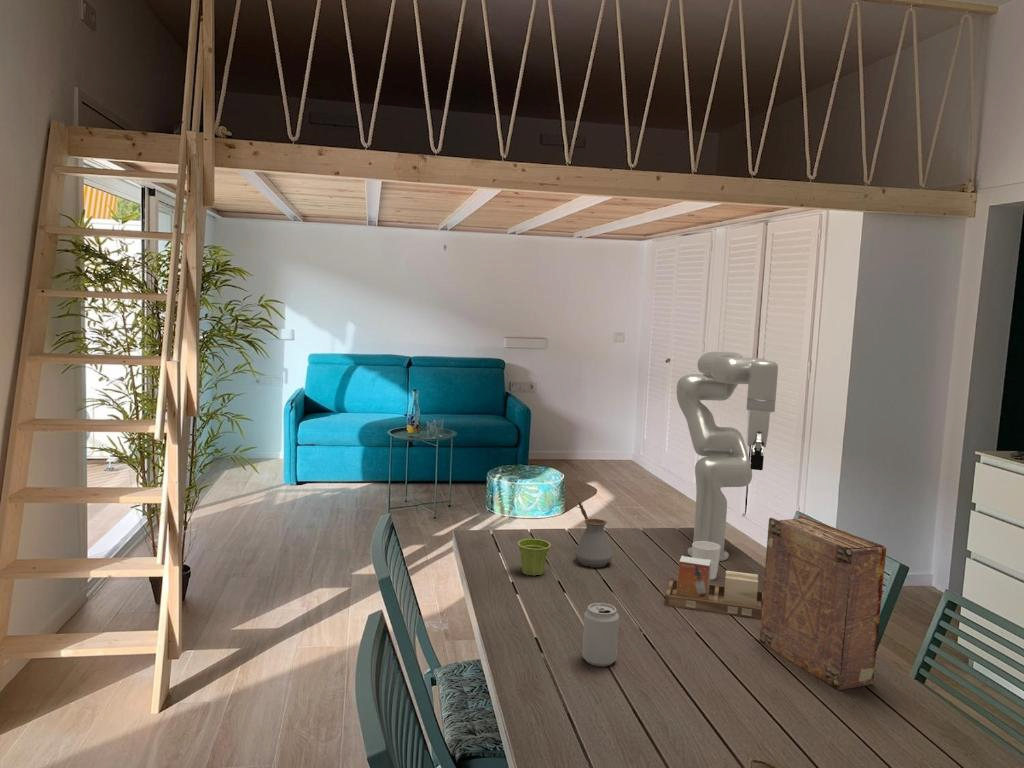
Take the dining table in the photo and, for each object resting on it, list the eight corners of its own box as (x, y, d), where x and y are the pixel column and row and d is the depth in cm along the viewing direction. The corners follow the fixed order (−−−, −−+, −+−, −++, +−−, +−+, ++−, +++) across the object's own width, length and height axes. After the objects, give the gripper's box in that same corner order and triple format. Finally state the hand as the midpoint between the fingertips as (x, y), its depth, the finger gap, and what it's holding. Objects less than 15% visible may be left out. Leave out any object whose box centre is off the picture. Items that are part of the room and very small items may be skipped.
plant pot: (555, 572, 231) (556, 543, 230) (538, 581, 223) (540, 550, 222) (527, 565, 236) (528, 536, 235) (510, 573, 228) (511, 544, 227)
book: (758, 641, 188) (768, 516, 185) (790, 636, 192) (799, 514, 189) (839, 691, 165) (852, 549, 162) (873, 685, 168) (886, 546, 165)
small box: (675, 600, 210) (678, 561, 209) (678, 593, 215) (681, 554, 214) (706, 605, 207) (709, 565, 206) (709, 597, 213) (711, 559, 212)
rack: (669, 590, 219) (670, 578, 219) (764, 604, 213) (765, 591, 212) (664, 609, 206) (665, 596, 206) (766, 623, 199) (767, 610, 199)
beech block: (723, 599, 212) (726, 570, 211) (755, 604, 209) (757, 574, 209) (723, 607, 206) (725, 577, 205) (755, 612, 204) (758, 582, 203)
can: (594, 670, 170) (597, 616, 168) (575, 656, 176) (578, 603, 175) (623, 664, 173) (626, 611, 172) (603, 650, 180) (606, 599, 178)
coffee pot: (618, 568, 236) (621, 519, 235) (581, 570, 233) (583, 520, 232) (593, 546, 257) (595, 500, 255) (559, 548, 254) (561, 501, 252)
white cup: (715, 575, 234) (718, 542, 233) (720, 584, 226) (722, 550, 225) (688, 573, 235) (690, 540, 234) (691, 582, 227) (694, 548, 226)
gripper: (746, 401, 230) (742, 459, 232) (746, 407, 214) (742, 470, 216) (774, 403, 228) (769, 462, 230) (776, 410, 212) (771, 473, 213)
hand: (756, 466), depth 223 cm, fingers open, 9 cm apart
